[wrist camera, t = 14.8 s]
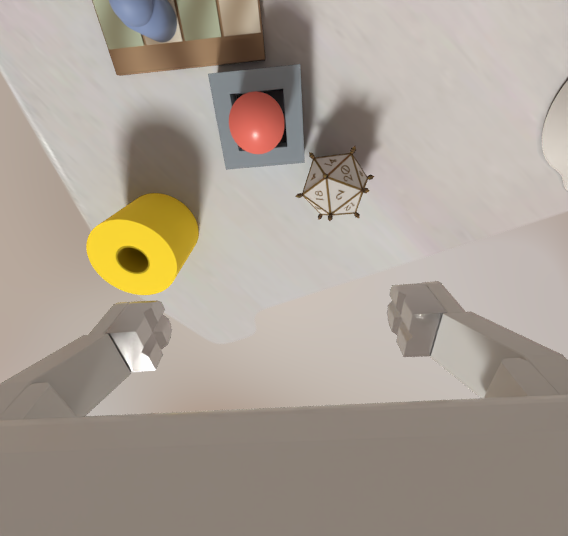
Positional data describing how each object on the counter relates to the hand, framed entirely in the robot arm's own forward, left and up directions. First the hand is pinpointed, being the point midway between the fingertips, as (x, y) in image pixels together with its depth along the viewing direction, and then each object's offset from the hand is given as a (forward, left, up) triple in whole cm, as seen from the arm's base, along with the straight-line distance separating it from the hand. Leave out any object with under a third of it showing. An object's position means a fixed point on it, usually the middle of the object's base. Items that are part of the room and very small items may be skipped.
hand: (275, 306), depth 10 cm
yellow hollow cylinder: (+18, +8, -29) cm, 35 cm away
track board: (+9, -14, -29) cm, 33 cm away
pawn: (+11, -14, -28) cm, 33 cm away
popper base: (+2, -4, -29) cm, 29 cm away
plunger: (+2, -5, -28) cm, 29 cm away
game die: (-6, +3, -29) cm, 30 cm away
